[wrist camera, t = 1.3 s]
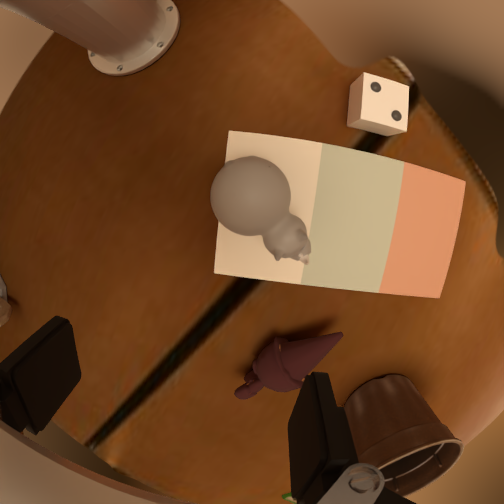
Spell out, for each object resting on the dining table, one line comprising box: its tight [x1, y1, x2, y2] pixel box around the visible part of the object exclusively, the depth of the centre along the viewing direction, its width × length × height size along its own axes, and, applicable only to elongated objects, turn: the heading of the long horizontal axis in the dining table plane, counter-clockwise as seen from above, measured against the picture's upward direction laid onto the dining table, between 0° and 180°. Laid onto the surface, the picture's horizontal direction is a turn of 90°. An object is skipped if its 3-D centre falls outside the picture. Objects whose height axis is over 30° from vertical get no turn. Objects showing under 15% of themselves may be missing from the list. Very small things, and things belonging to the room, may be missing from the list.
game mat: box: [214, 131, 466, 298], centre depth 31 cm, size 16×30×1 cm, turn 83°
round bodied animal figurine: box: [210, 156, 311, 265], centre depth 27 cm, size 7×12×8 cm, turn 39°
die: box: [347, 73, 409, 136], centre depth 25 cm, size 5×5×5 cm
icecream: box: [234, 332, 343, 399], centre depth 33 cm, size 7×7×15 cm
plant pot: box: [344, 375, 464, 497], centre depth 31 cm, size 16×16×16 cm
